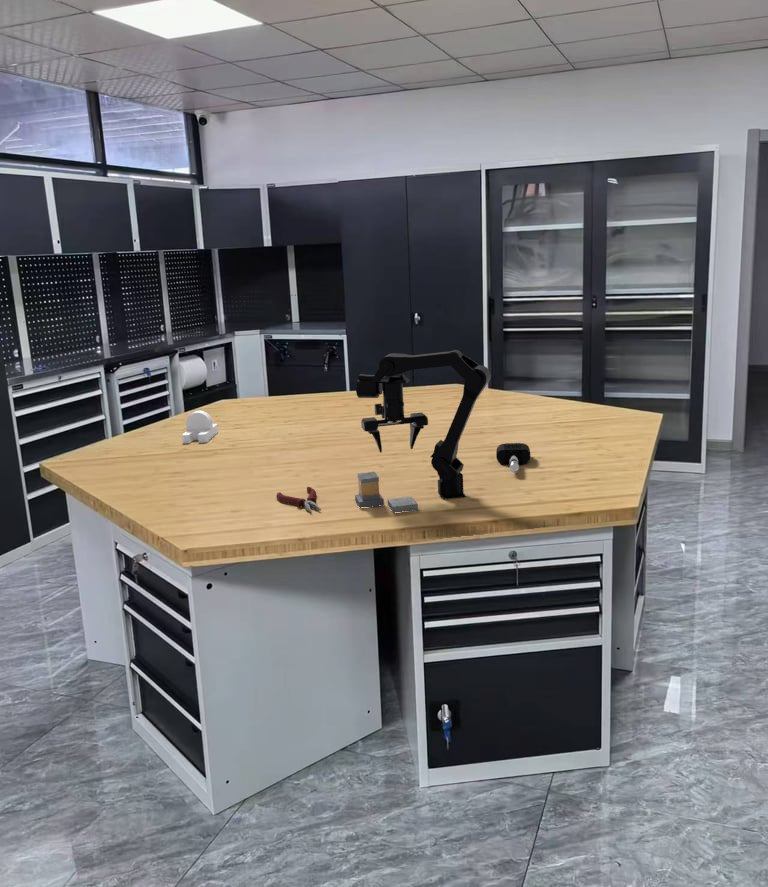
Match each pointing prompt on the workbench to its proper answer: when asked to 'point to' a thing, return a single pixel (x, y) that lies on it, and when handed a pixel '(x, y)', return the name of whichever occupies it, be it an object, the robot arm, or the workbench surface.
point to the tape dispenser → (199, 428)
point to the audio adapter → (513, 455)
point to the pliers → (300, 500)
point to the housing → (368, 486)
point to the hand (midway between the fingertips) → (396, 450)
